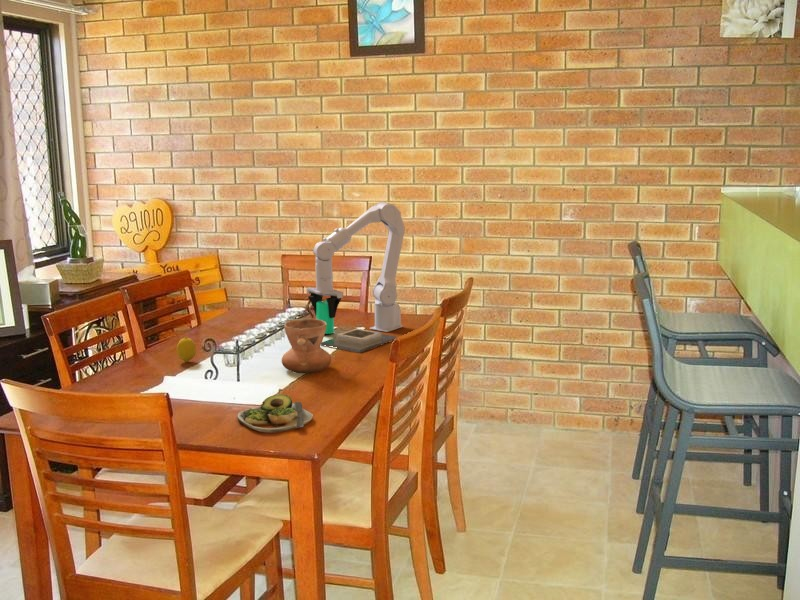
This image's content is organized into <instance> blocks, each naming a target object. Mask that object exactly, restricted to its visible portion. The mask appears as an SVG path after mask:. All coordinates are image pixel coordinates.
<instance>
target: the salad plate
mask: <svg viewBox="0 0 800 600" xmlns="http://www.w3.org/2000/svg"><path fill="white" fill-rule="evenodd" d="M236 417H237V418H236V419H237V421H238V422H239V423H240V424H241V425H244V426H245V427H246V428H247V427H248V428H249V429H251V430H255V431H257V432H260V433H269V434H271V433H272V434H273V433H282V432H283V433H284V432H287V431H291V430H296V429H299V428H300V429H301V428H304V426H305V425H306V424H307V423H310V421H311V420H312V419H313V417H314V414H313V413H312V412H310V411H308V410H306V409H304V408H303V403H302V402H300V401H294V403H293V400H292V398H291V397H290V396H289V395H287V394H281V393H279V394H273V395H271V396H269V397H266V398H265V399H264V400H263V401H262V404H261V405H260V406H258V407H252V408H246V409H243V410H241V411H239V412H238V414H237V415H236ZM254 425H255V426H254ZM257 425H258V426H257ZM261 425H270V426H271V425H272V426H274V427H262V426H261ZM260 426H261V427H260Z"/></svg>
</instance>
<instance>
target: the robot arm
mask: <svg viewBox="0 0 800 600" xmlns="http://www.w3.org/2000/svg"><path fill="white" fill-rule="evenodd" d="M401 214H402V213H401V211H400V210H399V208H398V207H397V206H396V205H394V204H393V203H387V202H386V201H379V202H377V203H376V204H375V205H372V206H371V207H370V208H368V209H367V210H366V211H365V212H364V213H362V214H361V215H360V216H358V217H357V218H356V219H355V220H354V221H353V222H351V223H350V224H348V226H347V227H339V228H338V227H336V228H334V229H333V231H334V232H332V233H331V234H330V235H328V236H327V237H323V238H322V241H318V242H317V243H315V245H314V247H313V249H312V252H313V255H314V256H315V265H314V267H315V287H310V286H309V287H307V288H306V294H308V296H307V297H308V300H309V301H310V303H311V306H312V308H313V311H314V314H315V316H316V302H318V301H323V296H324V297H326V298H325V301H326V300H327V303H328V307H329V316H330V318H335V317H336V315H337V309H338V307H339V304H340V302H341V301H342V298H344V292H343V291H341V290H336V289H334V285H333V284H334V281H333V280H334V279H333V257H334V255H335V253H337V252H338V251H340V249H342V248H344V247H345V246H346V245H347V244H349V243H350V242H351V240H352V237H353V235H355V234H356V233H358V232H359V231H361V230H362V229H364V228H365V227H367V226H368V225H370V224H371V223H383V224H384V226H385V227H386V228H387V230H388V235H387V242H386V247H385V252H384V256H383V261H382V267H381V271H380V275H379V276H378V279H377V282H376V283H375V285H374V287H373V289H372V295H373V298H375V301H374V326H371V327H369V330H371V331H373V330H374V331H377V332H385V333H389V332H393V331H395V330H397V329H401V328H404V327H403V325H402V319H401V318H402V314H401V312H402V309H401V306H400V305H399V303H397V299H398V293H397V286H398V285H397V280H396V277H397V272H398V271H397V270H398V266H399V261H400V255H401V251H402V245H403V241H404V235H405V231H406V227H405V225H404V221H403V219H402V215H401Z"/></svg>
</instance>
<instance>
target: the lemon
mask: <svg viewBox="0 0 800 600" xmlns="http://www.w3.org/2000/svg"><path fill="white" fill-rule="evenodd" d="M196 351H197V349H196V344H195V342H194V340H193V339H192V338H189V337H188V336H184V337H183V338H181V339H180V340H179V341H178V343H177V346H176V353H177V356H178V358H179V360H182V361H183V362H185V363H189V362H190V361H191V360H193V358H194V357H195V356H196Z"/></svg>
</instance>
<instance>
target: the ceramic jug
mask: <svg viewBox="0 0 800 600" xmlns="http://www.w3.org/2000/svg"><path fill="white" fill-rule="evenodd" d="M326 326H327V323H326V322H325V321H322V320H319V319H316V318H311V317H308V318H307V317H305V318H296V319H291V320H289V321H286V322H285V323H284V326H283V327H284V331H285V334H286V337H287V340H288V341H289V344H290V347H291V348H290V349H289V350H287V351H286V352H285V353H283V355H282V358H281V364H282V366H283V367H284V368H285V369H286V370H288V371H289V372H292V373H297V374H313V373H317V372H320V371H323V370H325V369H327V368H328V367H329V366H330V365H331V363H332V356H331V354H330V353H329V352H328V351H327V350H325V349H324V348H323V347H322V346H321V343H322V342H323V339H324V338H325V335H326V334H325V331H326Z"/></svg>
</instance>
